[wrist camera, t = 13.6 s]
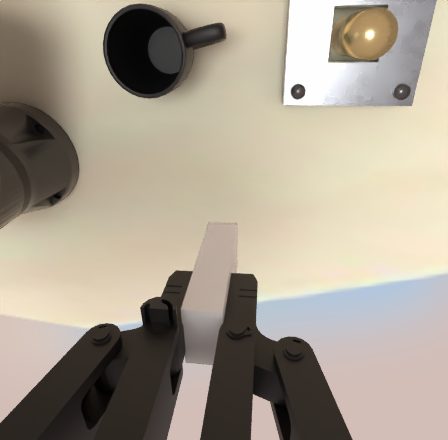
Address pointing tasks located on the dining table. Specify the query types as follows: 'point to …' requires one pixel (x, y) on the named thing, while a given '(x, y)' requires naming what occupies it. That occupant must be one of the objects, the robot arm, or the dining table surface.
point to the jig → (353, 70)
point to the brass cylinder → (365, 34)
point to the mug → (153, 49)
